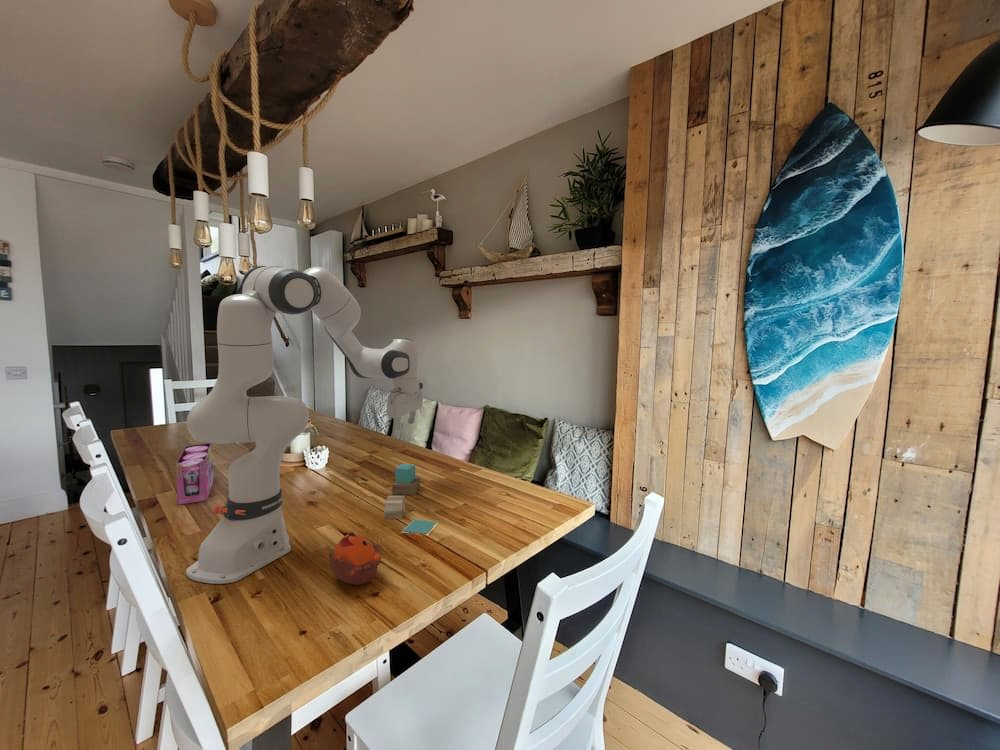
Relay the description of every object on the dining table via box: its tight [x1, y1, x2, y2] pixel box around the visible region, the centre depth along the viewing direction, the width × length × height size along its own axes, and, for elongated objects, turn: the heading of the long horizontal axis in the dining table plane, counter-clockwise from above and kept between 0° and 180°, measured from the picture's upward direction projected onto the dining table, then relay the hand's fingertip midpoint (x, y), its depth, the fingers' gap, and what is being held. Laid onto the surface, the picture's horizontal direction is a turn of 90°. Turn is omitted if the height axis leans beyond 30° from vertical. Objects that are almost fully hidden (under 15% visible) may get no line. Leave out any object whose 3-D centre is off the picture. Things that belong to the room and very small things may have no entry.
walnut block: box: [391, 475, 421, 496], centre depth 143 cm, size 8×8×4 cm
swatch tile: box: [401, 518, 438, 534], centre depth 117 cm, size 8×8×1 cm
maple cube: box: [384, 495, 406, 519], centre depth 125 cm, size 5×5×5 cm
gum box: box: [175, 443, 215, 506], centre depth 139 cm, size 24×8×14 cm, turn 31°
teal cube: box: [394, 463, 416, 484], centre depth 143 cm, size 5×5×5 cm
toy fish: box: [328, 532, 383, 586], centre depth 92 cm, size 12×10×11 cm
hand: (405, 426), depth 141 cm, fingers open, 8 cm apart
